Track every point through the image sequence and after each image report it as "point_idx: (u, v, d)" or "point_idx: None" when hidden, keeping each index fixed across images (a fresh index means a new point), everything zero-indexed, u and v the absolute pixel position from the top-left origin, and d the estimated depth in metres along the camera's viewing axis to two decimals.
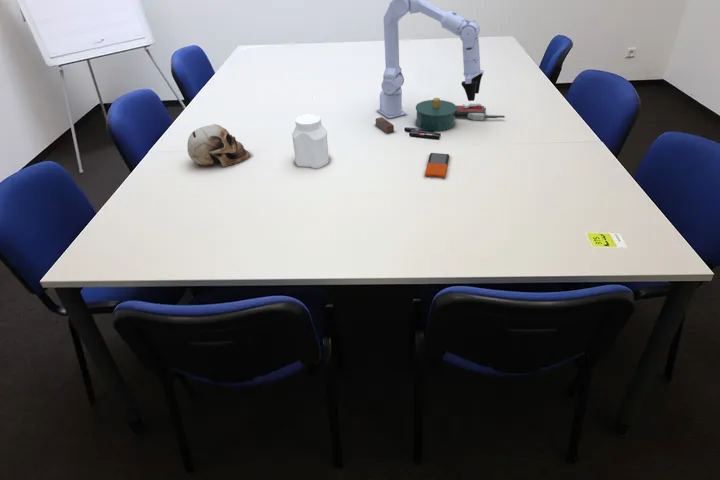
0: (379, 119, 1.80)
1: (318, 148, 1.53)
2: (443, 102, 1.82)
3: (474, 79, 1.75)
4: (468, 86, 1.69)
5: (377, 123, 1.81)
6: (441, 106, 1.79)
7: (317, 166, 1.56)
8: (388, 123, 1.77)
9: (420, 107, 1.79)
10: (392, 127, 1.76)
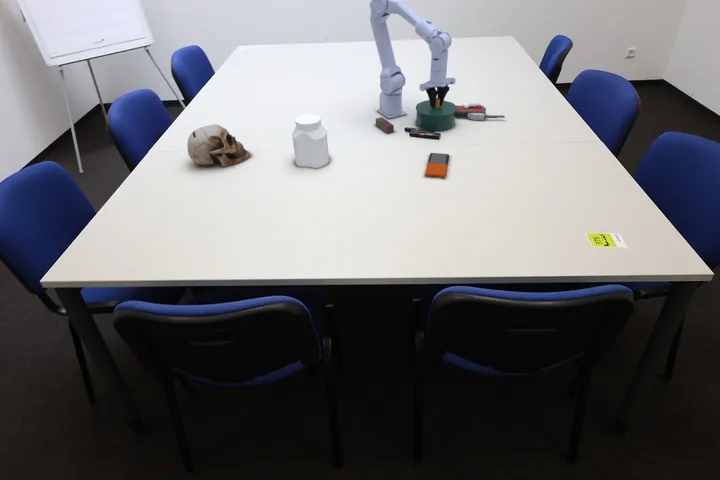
0: (379, 119, 1.80)
1: (318, 148, 1.53)
2: (443, 102, 1.82)
3: (440, 91, 1.75)
4: (431, 92, 1.74)
5: (377, 123, 1.81)
6: (441, 106, 1.79)
7: (317, 166, 1.56)
8: (388, 123, 1.77)
9: (420, 107, 1.79)
10: (392, 127, 1.76)
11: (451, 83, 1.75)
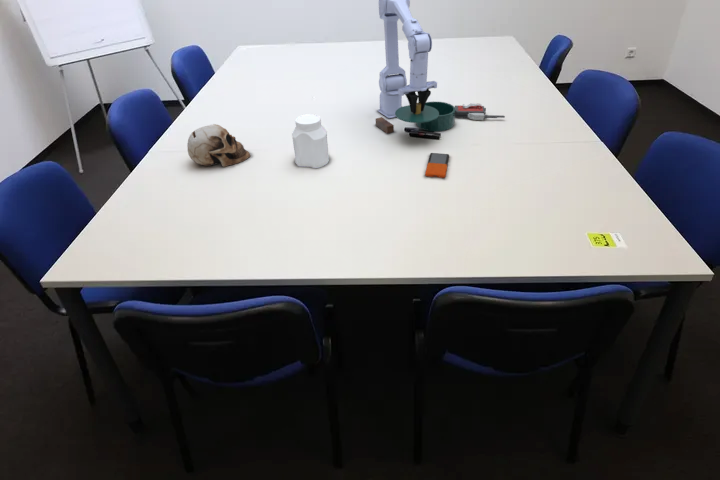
0: (379, 119, 1.80)
1: (318, 148, 1.53)
2: (425, 107, 1.70)
3: (421, 95, 1.64)
4: None
5: (377, 123, 1.81)
6: (422, 111, 1.67)
7: (317, 166, 1.56)
8: (388, 123, 1.77)
9: (399, 112, 1.67)
10: (392, 127, 1.76)
11: (433, 87, 1.64)
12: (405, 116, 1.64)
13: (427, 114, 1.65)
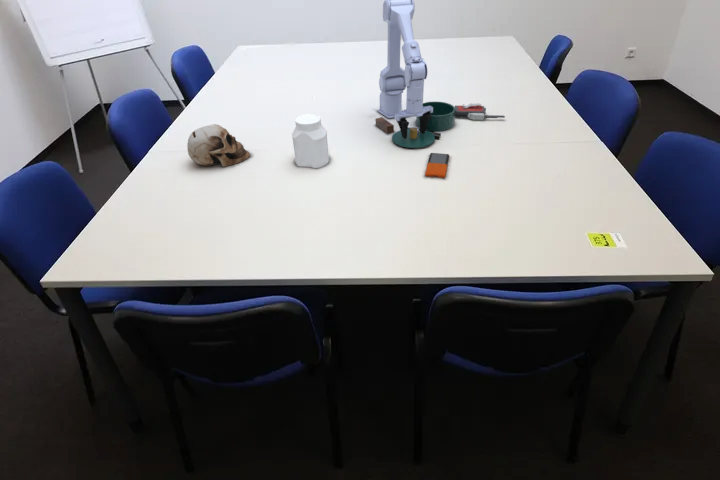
0: (379, 119, 1.80)
1: (318, 148, 1.53)
2: None
3: (422, 119, 1.68)
4: None
5: (377, 123, 1.81)
6: (419, 136, 1.71)
7: (317, 166, 1.56)
8: (388, 123, 1.77)
9: (396, 137, 1.71)
10: (392, 127, 1.76)
11: None
12: (402, 141, 1.68)
13: (423, 139, 1.69)
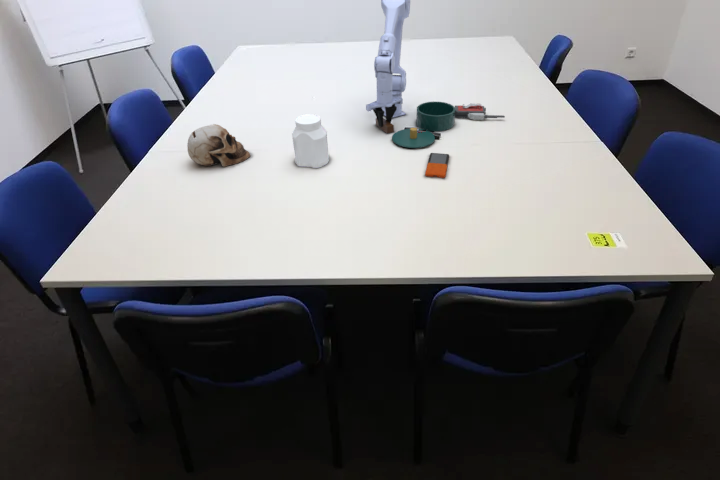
0: None
1: (318, 148, 1.53)
2: None
3: (387, 110, 1.77)
4: None
5: (377, 123, 1.81)
6: (419, 136, 1.71)
7: (317, 166, 1.56)
8: (388, 123, 1.77)
9: (396, 137, 1.71)
10: (392, 127, 1.76)
11: None
12: (402, 141, 1.68)
13: (423, 139, 1.69)
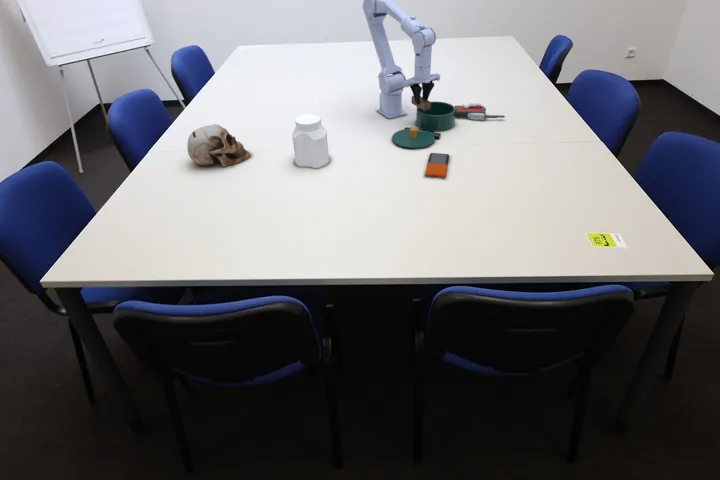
0: None
1: (318, 148, 1.53)
2: None
3: (425, 87, 1.74)
4: None
5: (413, 101, 1.78)
6: (419, 136, 1.71)
7: (317, 166, 1.56)
8: (425, 100, 1.74)
9: (396, 137, 1.71)
10: (429, 104, 1.73)
11: (436, 79, 1.73)
12: (402, 141, 1.68)
13: (423, 139, 1.69)
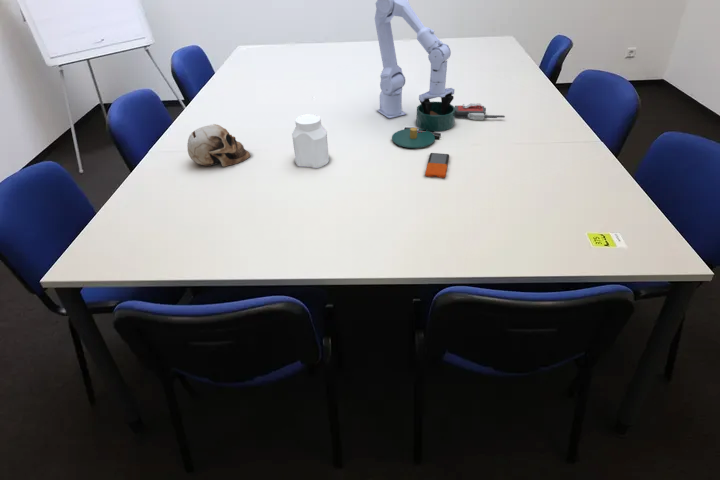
0: (430, 113, 1.82)
1: (318, 148, 1.53)
2: None
3: (444, 100, 1.79)
4: None
5: None
6: (419, 136, 1.71)
7: (317, 166, 1.56)
8: None
9: (396, 137, 1.71)
10: None
11: None
12: (402, 141, 1.68)
13: (423, 139, 1.69)
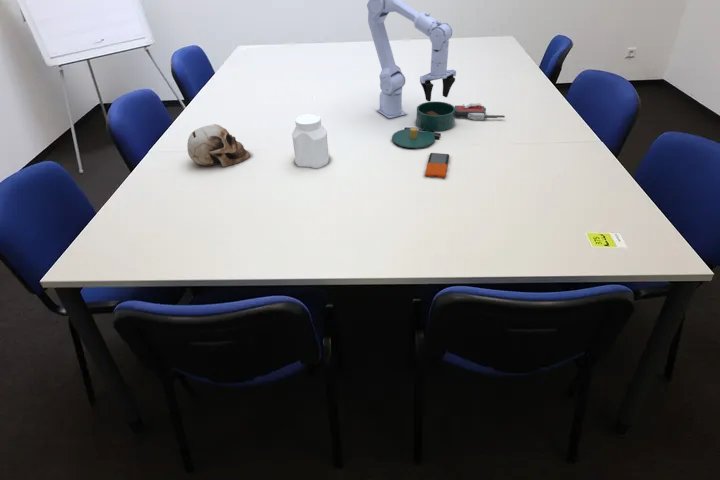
0: (430, 113, 1.82)
1: (318, 148, 1.53)
2: None
3: (445, 82, 1.74)
4: None
5: None
6: (419, 136, 1.71)
7: (317, 166, 1.56)
8: None
9: (396, 137, 1.71)
10: None
11: None
12: (402, 141, 1.68)
13: (423, 139, 1.69)
